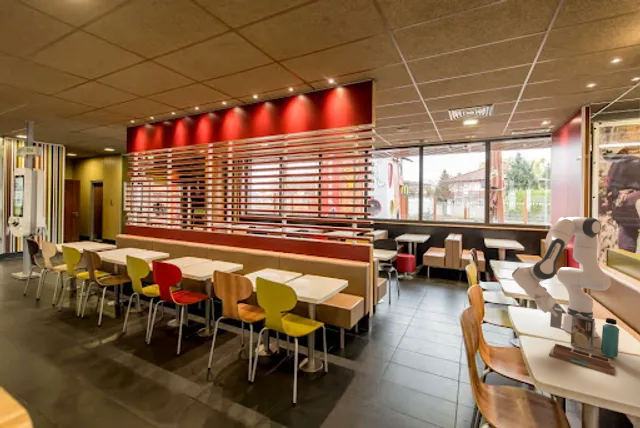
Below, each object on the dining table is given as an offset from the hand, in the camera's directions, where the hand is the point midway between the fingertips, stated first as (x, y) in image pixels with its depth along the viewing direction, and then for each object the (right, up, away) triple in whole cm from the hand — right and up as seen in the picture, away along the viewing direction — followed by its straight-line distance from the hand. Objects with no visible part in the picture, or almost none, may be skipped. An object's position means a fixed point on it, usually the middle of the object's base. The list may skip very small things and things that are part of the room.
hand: (557, 314), depth 169 cm
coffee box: (+14, -18, +1) cm, 23 cm away
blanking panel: (-1, -7, +1) cm, 7 cm away
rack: (0, -18, -15) cm, 23 cm away
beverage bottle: (+18, -19, -11) cm, 28 cm away
